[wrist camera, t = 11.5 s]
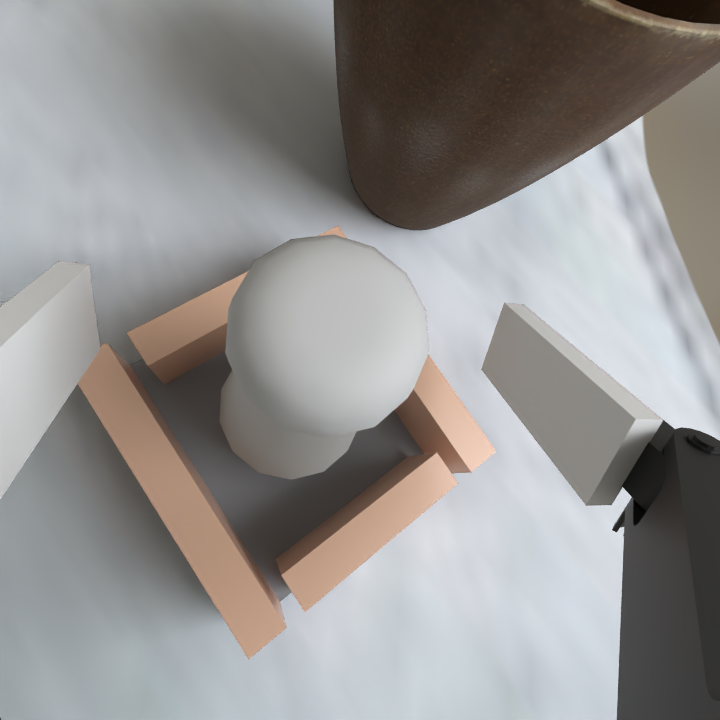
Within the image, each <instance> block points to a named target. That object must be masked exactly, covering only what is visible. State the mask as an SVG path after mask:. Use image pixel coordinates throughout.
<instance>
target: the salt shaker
mask: <svg viewBox="0 0 720 720" xmlns="http://www.w3.org/2000/svg"><path fill="white" fill-rule="evenodd" d="M225 354H226V356H227V359H228V362H229V364H230V366H231V368H232V371H231V373H230V375H229V377H228V378H227V380H226V382H225V384H224V385H223V387H222V389H221V401H220V418H219V422H220V424H221V427H222V429H223V431H224V433H225V436H226V438H227V440H228V442H229V445H230V447H231V449H232V451H233V452H234V453H235V454H236V455H237V456H238V457H240V458H241V459H242V460H243V461H245V462H246V463H247V464H248V465H250V466H251V467H252V468H253V469H254V470H256V471H257V472H258V473H261V474H266V475H271V476H276V477H281V478H286V479H291V480H292V479H296V478H300V477H304V476H308V475H313V474H317V473H321V472H324V471H325V470H326V469H327V468H329V467H330V466H331V465H332V464H333V463H334V462H335V461H336V460H338V459H339V458H340V457H341V456H342V455H343V454H344V453H346V452H347V451H348V449H349V447H350V444H351V442H352V440H353V438H354V436H355V434H356V432H357V431H359V430H364V429H368V428H372V427H375V426H376V425H377V424H379V423H380V422H381V421H382V420H383V419H384V418H385V417H387V416H388V415H389V414H390V413H391V412H392V411H393V410H395V409H396V408H397V407H398V406H399V405H400V404H401V403H403V402H404V401H405V400H406V399H407V398H408V396H409V395H410V394H411V392H412V391H413V389H414V387H415V384H416V382H417V379H418V377H419V375H420V372H421V370H422V368H423V365H424V363H425V361H426V358H427V356H428V354H429V340H428V327H427V315H426V309H425V307H424V305H423V304H422V302H421V300H420V298H419V296H418V294H417V292H416V290H415V288H414V286H413V284H412V282H411V280H410V279H409V277H408V275H407V273H405V272H404V271H403V270H402V269H400V268H399V267H398V266H397V265H395V264H394V263H393V262H392V261H390V260H389V259H388V258H387V257H385V256H384V255H383V254H382V253H380V252H379V251H378V250H377V249H375V248H374V247H371V246H368V245H365V244H362V243H359V242H356V241H353V240H350V239H346V238H343V237H340V236H337V235H334V234H332V235H324V236H315V237H306V238H297V239H291V240H289V241H287V242H286V243H284V244H282V245H281V246H279V247H277V248H275V249H274V250H272V251H270V252H269V253H267V254H265V255H263V256H262V257H260V258H258V259H257V260H255V261H254V263H253V264H252V266H251V268H250V269H249V271H248V273H247V274H246V276H245V278H244V279H243V281H242V283H241V284H240V286H239V288H238V290H237V291H236V293H235V295H234V296H233V298H232V301H231V303H230V306H229V308H228V322H227V336H226V351H225Z"/></svg>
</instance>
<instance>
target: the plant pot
mask: <svg viewBox="0 0 720 720" xmlns="http://www.w3.org/2000/svg"><path fill="white" fill-rule="evenodd" d="M334 32H335V54H336V71H337V86H338V97H339V107H340V116H341V124H342V131H343V138H344V145H345V150H346V156H347V162H348V167H349V171H350V176H351V180H352V183H353V185H354V188H355V190H356V192H357V194H358V195H359V197H360V198H361V200H362V201H363V202H364V203H365V205H366V206H367V207H368V208H369V209H370V210H371V211H372V212H373V213H374V214H376V215H377V216H378V217H380V218H381V219H383V220H384V221H387V222H389V223H391V224H393V225H395V226H399V227H402V228H406V229H411V230H426V229H431V228H435V227H438V226H441V225H444V224H447V223H449V222H452V221H454V220H457V219H460V218H462V217H465V216H467V215H469V214H472V213H474V212H476V211H478V210H480V209H483V208H485V207H487V206H489V205H492V204H494V203H496V202H498V201H500V200H502V199H504V198H506V197H508V196H509V195H511V194H513V193H515V192H517V191H519V190H521V189H523V188H525V187H527V186H529V185H530V184H532V183H534V182H536V181H538V180H539V179H541V178H543V177H545V176H546V175H548V174H550V173H552V172H553V171H555V170H557V169H559V168H560V167H562V166H564V165H565V164H567V163H569V162H570V161H572V160H574V159H575V158H577V157H578V156H580V155H582V154H583V153H585V152H587V151H588V150H590V149H592V148H593V147H595V146H597V145H598V144H600V143H601V142H603V141H605V140H606V139H608V138H609V137H611V136H612V135H614V134H615V133H617V132H618V131H620V130H622V129H623V128H625V127H626V126H628V125H629V124H631V123H632V122H634V121H635V120H637V119H638V118H640V117H641V116H643V115H644V114H646V113H647V112H649V111H650V110H652V109H653V108H655V107H656V106H658V105H659V104H660V103H662V102H663V101H665V100H666V99H667V98H669V97H670V96H672V95H673V94H675V93H676V92H677V91H679V90H680V89H682V88H683V87H684V86H686V85H688V84H689V83H690V82H692V81H693V80H694V79H696V78H697V77H699V76H700V75H702V74H703V73H705V72H706V71H707V70H709V69H710V68H712V67H713V66H714V65H716V64H717V63H719V62H720V0H334Z"/></svg>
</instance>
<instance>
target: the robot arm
mask: <svg viewBox="0 0 720 720" xmlns="http://www.w3.org/2000/svg"><path fill="white" fill-rule="evenodd" d="M100 349H101V348H100V341H99V334H98V326H97V319H96V312H95V304H94V297H93V289H92V282H91V275H90V267H89V264H84V263H73V262H62V261H58V262H57V263H56V264H54V265H53V266H52V267H51V268H49V269H48V270H47V271H46V272H44V273H43V274H42V275H40V276H39V277H38V278H37V279H35V280H34V281H33V282H32V283H30V284H29V285H28V286H27V287H25V288H24V289H23V290H21V291H20V292H19V293H18V294H16V295H15V296H14V297H13V298H11V299H10V300H9V301H7V302H6V303H5V304H4V305H2V306H1V307H0V499H1V498H2V496H3V495H4V493H5V492H6V490H7V489H8V487H9V486H10V484H11V483H12V481H13V480H14V478H15V477H16V475H17V474H18V472H19V471H20V469H21V468H22V466H23V465H24V463H25V462H26V460H27V459H28V457H29V456H30V454H31V453H32V451H33V450H34V448H35V447H36V445H37V444H38V442H39V441H40V439H41V438H42V436H43V435H44V433H45V432H46V430H47V429H48V427H49V426H50V424H51V423H52V421H53V420H54V418H55V417H56V415H57V414H58V412H59V411H60V409H61V408H62V406H63V405H64V403H65V402H66V400H67V399H68V397H69V396H70V394H71V393H72V391H73V390H74V388H75V387H76V385H77V384H78V382H79V381H80V379H81V378H82V376H83V375H84V373H85V372H86V370H87V369H88V367H89V366H90V364H91V363H92V361H93V360H94V358H95V357H96V355H97V354H98V352H99V351H100ZM481 370H482V371H483V372H484V374H485V375H486V376H487V377H488V379H489V380H490V381H491V383H492V384H493V385H494V387H495V388H496V389H497V390H498V392H499V393H500V394H501V396H502V397H503V398H504V400H505V401H506V402H507V403H508V405H509V406H510V407H511V409H512V410H513V411H514V412H515V414H516V415H517V416H518V418H519V419H520V420H521V422H522V423H523V424H524V425H525V427H526V428H527V429H528V431H529V432H530V433H531V435H532V436H533V437H534V438H535V440H536V441H537V442H538V444H539V445H540V446H541V448H542V449H543V450H544V451H545V453H546V454H547V455H548V457H549V458H550V459H551V461H552V462H553V463H554V464H555V466H556V467H557V468H558V470H559V471H560V472H561V473H562V475H563V476H564V477H565V479H566V480H567V481H568V483H569V484H570V485H571V486H572V488H573V489H574V490H575V492H576V493H577V494H578V496H579V497H580V498H581V499H582V501H583V502H584V503H585V505H586V506H588V505H612V503H613V502H614V500H615V498H616V497H617V495H618V494H619V492H620V490H621V489H622V487H623V488H624V489H625V490H626V491H627V492H628V493H629V494H630V495H631V496H632V498H631V500H630V501H629V503H628V504H627V506H626V508H625V509H624V511H623V512H622V514H621V515H620V517H619V519H618V520H617V522H616V523H615V525H614V527H613V529H612V530H613V531H615V532H617V531H618V529H619V528H620V527H624V526H625V527H624V535H623V536H624V552H623V578H622V603H621V628H620V654H619V679H618V705H617V720H720V441H719V440H717V439H716V438H714V437H712V436H710V435H708V434H705V433H703V432H700V431H697V430H694V429H690V428H678V429H674V428H673V427H671V426H670V425H669V424H668V423H667V422H665V421H664V420H663V419H662V418H661V417H660V416H658V415H657V414H656V413H655V412H653V411H652V410H651V409H650V408H649V407H647V406H646V405H645V404H644V403H643V402H641V401H640V400H639V399H638V398H636V397H635V396H634V395H633V394H632V393H630V392H629V391H628V390H627V389H626V388H624V387H623V386H622V385H621V384H620V383H618V382H617V381H616V380H615V379H613V378H612V377H611V376H610V375H609V374H607V373H606V372H605V371H604V370H603V369H601V368H600V367H599V366H598V365H597V364H595V363H594V362H593V361H592V360H590V359H589V358H588V357H587V356H586V355H584V354H583V353H582V352H581V351H580V350H578V349H577V348H576V347H575V346H573V345H572V344H571V343H570V342H569V341H567V340H566V339H565V338H564V337H563V336H561V335H560V334H559V333H558V332H557V331H555V330H554V329H553V328H552V327H550V326H549V325H548V324H547V323H546V322H544V321H543V320H542V319H541V318H540V317H538V316H537V315H536V314H535V313H534V312H532V311H531V310H530V309H529V308H527V307H526V306H525V305H524V304H514V303H504V305H503V308H502V311H501V314H500V317H499V320H498V322H497V325H496V328H495V331H494V334H493V337H492V340H491V343H490V346H489V349H488V352H487V355H486V357H485V360H484V363H483V366H482V369H481ZM0 720H1V718H0Z"/></svg>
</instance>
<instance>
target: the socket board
mask: <svg viewBox="0 0 720 720" xmlns="http://www.w3.org/2000/svg"><path fill="white" fill-rule="evenodd" d="M332 234H334V235H337V236H340V237H343V238H346V236H345V235H344V233H343V232H342V231H341V229H340V228H339V226H336V227H334V228H332V229H330V230H329V231H327V232H325V233H323V234H321V235H319V236H324V235H332ZM346 239H347V238H346ZM247 273H248V271H247V272H245V273H243V274H241V275H239V276H238V277H236V278H234V279H232V280H230V281H228V282H226V283H224V284H222V285H220V286H218V287H216V288H214V289H212V290H210V291H208V292H206V293H204V294H202V295H200V296H198V297H196V298H194V299H192V300H190V301H188V302H186V303H184V304H182V305H180V306H178V307H176V308H174V309H172V310H170V311H168V312H166V313H164V314H162V315H160V316H158V317H156V318H154V319H152V320H150V321H148V322H146V323H145V324H143V325H141V326H139V327H137V328H135V329H133V330H131V331H129V332H127V334H128V336H129V337H130V339H131V341H132V342H133V344H134V345H135V347H136V348H137V350H138V352H139V353H140V355H141V356H142V358H143V359H142V360H140V361H138V362H136V363H134V364H133V365H131V366H130V365H129V364H128V363H127V362H126V361H125V360H124V359H123V358H122V357H121V356H120V355H119V354H118V353H117V352H116V351H115V350H114V349H113V348H112V347H111V346H110V345H109V344H108V343H105V344H103V345H101V346H100V348H101V349H100V351H99V352H98V354H97V355H96V357H95V358H94V360H93V361H92V363H91V364H90V366H89V367H88V369H87V370H86V372H85V373H84V375H83V376H82V378H81V379H80V381H79V382H78V385H79V387H80V388H81V390H82V392H83V393H84V395H85V396H86V398H87V400H88V401H89V403H90V404H91V406H92V408H93V409H94V411H95V413H96V414H97V416H98V417H99V419H100V421H101V422H102V424H103V425H104V427H105V429H106V430H107V432H108V433H109V435H110V437H111V438H112V440H113V442H114V443H115V445H116V446H117V448H118V450H119V451H120V453H121V454H122V456H123V458H124V459H125V461H126V463H127V464H128V466H129V467H130V469H131V471H132V472H133V474H134V475H135V477H136V479H137V480H138V482H139V483H140V485H141V487H142V488H143V490H144V492H145V493H146V495H147V496H148V498H149V500H150V501H151V503H152V504H153V506H154V508H155V509H156V511H157V512H158V514H159V516H160V517H161V519H162V521H163V522H164V524H165V525H166V527H167V529H168V530H169V532H170V533H171V535H172V537H173V538H174V540H175V542H176V543H177V545H178V546H179V548H180V550H181V551H182V553H183V554H184V556H185V558H186V559H187V561H188V562H189V564H190V566H191V567H192V569H193V571H194V572H195V574H196V575H197V577H198V579H199V580H200V582H201V583H202V585H203V587H204V588H205V590H206V591H207V593H208V595H209V596H210V598H211V600H212V601H213V603H214V604H215V606H216V608H217V609H218V611H219V612H220V614H221V616H222V617H223V619H224V621H225V622H226V624H227V625H228V627H229V629H230V630H231V632H232V633H233V635H234V637H235V638H236V640H237V641H238V643H239V645H240V646H241V648H242V650H243V651H244V653H245V654H246V656H247V658H248V659H250V658H251V657H252V656H253V655H254V654H256V653H257V652H258V651H259V650H260V649H262V648H263V647H264V646H265V645H266V644H268V643H269V642H270V641H271V640H272V639H273V638H275V637H276V636H277V635H278V634H279V633H281V632H282V631H283V630H284V629H285V628H287V627H286V623H285V619H284V615H283V611H282V608H281V604H280V601H281V600H282V599H284V598H285V597H286V596H287V595H289V594H290V593H291V592H292V593H293V594H294V596H295V598H296V599H297V601H298V602H299V604H300V605H301V607H302V609H303V610H304V612H306V611H307V610H308V609H309V608H310V607H312V606H313V605H314V604H315V603H316V602H318V601H319V600H320V599H321V598H322V597H323V596H325V595H326V594H327V593H328V592H329V591H331V590H332V589H333V588H334V587H335V586H337V585H338V584H339V583H340V582H341V581H343V580H344V579H345V578H346V577H347V576H348V575H350V574H351V573H352V572H353V571H354V570H356V569H357V568H358V567H359V566H360V565H362V564H363V563H364V562H365V561H366V560H368V559H369V558H370V557H371V556H372V555H373V554H375V553H376V552H377V551H378V550H379V549H381V548H382V547H383V546H384V545H385V544H387V543H388V542H389V541H390V540H391V539H393V538H394V537H395V536H396V535H397V534H398V533H400V532H401V531H402V530H403V529H404V528H406V527H407V526H408V525H409V524H410V523H412V522H413V521H414V520H415V519H416V518H418V517H419V516H420V515H421V514H422V513H423V512H425V511H426V510H427V509H428V508H429V507H431V506H432V505H433V504H434V503H435V502H437V501H438V500H439V499H440V498H441V497H443V496H444V495H445V494H446V493H447V492H448V491H450V490H451V489H452V488H453V487H454V486H456V485H457V484H458V482H457V481H456V479H455V478H454V476H453V475H452V473H467V472H472V471H473V470H475V469H476V468H477V467H478V466H479V465H481V464H482V463H483V462H484V461H485V460H487V459H488V458H489V457H490V456H491V455H493V454H494V453H495V452H496V450H495V449H494V447H493V446H492V444H491V443H490V442H489V440H488V439H487V437H486V436H485V434H484V433H483V432H482V430H481V429H480V427H479V426H478V424H477V423H476V422H475V420H474V419H473V417H472V416H471V415H470V413H469V412H468V410H467V409H466V407H465V406H464V405H463V403H462V402H461V400H460V399H459V397H458V396H457V395H456V393H455V392H454V390H453V389H452V387H451V386H450V385H449V383H448V382H447V380H446V379H445V377H444V376H443V375H442V373H441V372H440V370H439V369H438V367H437V366H436V365H435V363H434V362H433V360H432V359H431V357H430V356H429V355H428V356H427V358H426V361H425V363H424V365H423V368H422V370H421V372H420V375H419V377H418V379H417V382H416V384H415V387H414V389H413V391H412V392H411V394H410V395H409V396H408V398H407V399H406V400H405V401H404V402H403V403H401V404H400V405H399V406H398V407H397V408H396V409H395V410H393V411H392V412H391V413H390V414H389V415H388V416H387V417H385V418H384V419H383V420H382V421H381V422H380V423H379V424H377V425H376V426H375V427H372V428H368V429H364V430H359V431H357V432H356V434H355V436H354V438H353V440H352V442H351V444H350V447H349V449H348V451H347V452H346V453H344V454H343V455H342V456H341V457H340V458H339V459H338V460H336V461H335V462H334V463H333V464H332V465H331V466H330V467H329V468H327V469H326V470H325V471H324V472H321V473H317V474H313V475H308V476H304V477H300V478H296V479H292V480H291V479H286V478H281V477H276V476H271V475H266V474H261V473H258V472H257V471H256V470H254V469H253V468H252V467H251V466H250V465H248V464H247V463H246V462H245V461H243V460H242V459H241V458H240V457H238V456H237V455H236V454H235V453H234V452H233V451H232V449H231V447H230V445H229V442H228V440H227V438H226V436H225V433H224V431H223V429H222V427H221V424H220V422H219V418H220V401H221V389H222V387H223V385H224V384H225V382H226V380H227V378H228V377H229V375H230V373H231V371H232V368H231V366H230V364H229V362H228V359H227V356H226V354H225V351H226V336H227V322H228V308H229V306H230V303H231V301H232V298H233V296H234V295H235V293H236V291H237V290H238V288H239V286H240V284H241V283H242V281H243V279H244V278H245V276H246V274H247Z"/></svg>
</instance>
